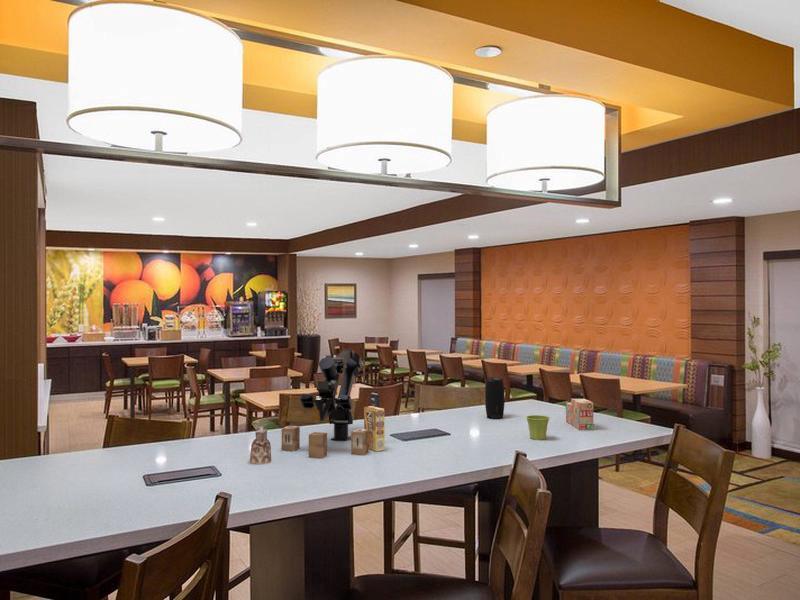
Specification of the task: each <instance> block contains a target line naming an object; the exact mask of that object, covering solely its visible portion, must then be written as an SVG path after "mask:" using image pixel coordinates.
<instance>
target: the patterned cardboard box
mask: <svg viewBox="0 0 800 600" xmlns="http://www.w3.org/2000/svg"><path fill="white" fill-rule="evenodd" d="M565 421H566V423H568V424H569V425H571V426H572V427H573V428H575V429H576V430H577V431H579V432H580V431H581V432H583V431H591V432H592V431H593V432H594V402H592V401H591V400H588V399H586V398H571V400H570V401H569V402H565Z"/></svg>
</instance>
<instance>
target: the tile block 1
mask: <svg viewBox="0 0 800 600" xmlns="http://www.w3.org/2000/svg"><path fill="white" fill-rule="evenodd" d="M300 427H301V426H297V425H287V426H285V427H283V428H281V451H285V452H286V451H287V452H295V451H297V450H299V449H300V445H301V444H300V441H301V440H300V439H301V438H300V435H301V434H300V431H301V430H300Z"/></svg>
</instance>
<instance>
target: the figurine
mask: <svg viewBox="0 0 800 600" xmlns="http://www.w3.org/2000/svg"><path fill="white" fill-rule="evenodd" d="M271 445H272V444H271V442H270V440H269V439H268V429H267V428H266V427H265V426H262V425H261V424H259V425H257V428H256V429H255V439H254V440H253V441H252V443H251V445H250V454H249V463H250V464H252V465H266V464H269V463H271V462H272V446H271Z"/></svg>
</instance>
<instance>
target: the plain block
mask: <svg viewBox="0 0 800 600" xmlns="http://www.w3.org/2000/svg"><path fill="white" fill-rule="evenodd" d="M327 456H328V432H321V431H313V432H311V433H309V434H308V458H310V459H311V458H312V459H324V458H325V457H327Z"/></svg>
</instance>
